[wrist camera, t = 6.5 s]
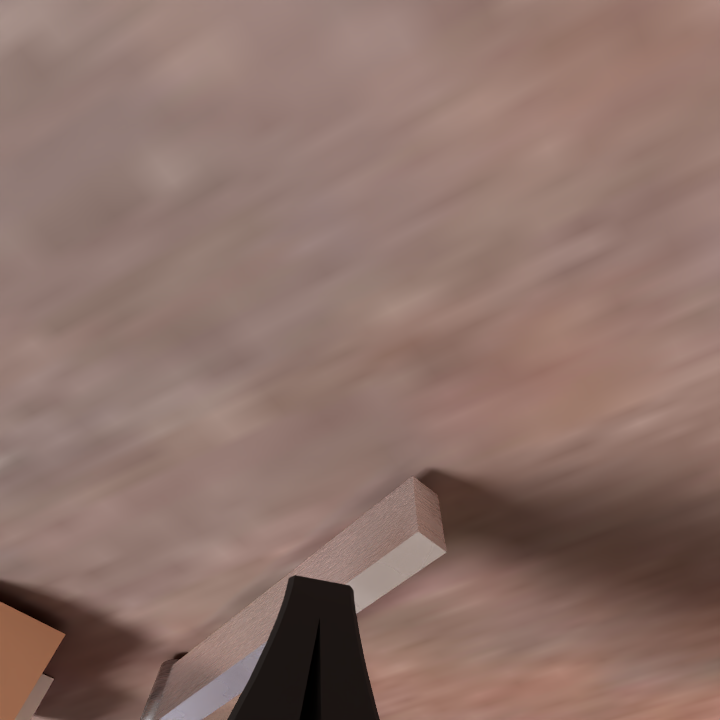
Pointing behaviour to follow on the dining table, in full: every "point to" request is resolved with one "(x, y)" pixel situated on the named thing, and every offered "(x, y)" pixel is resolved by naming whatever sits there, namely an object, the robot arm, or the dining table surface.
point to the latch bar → (255, 622)
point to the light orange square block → (22, 657)
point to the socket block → (34, 698)
